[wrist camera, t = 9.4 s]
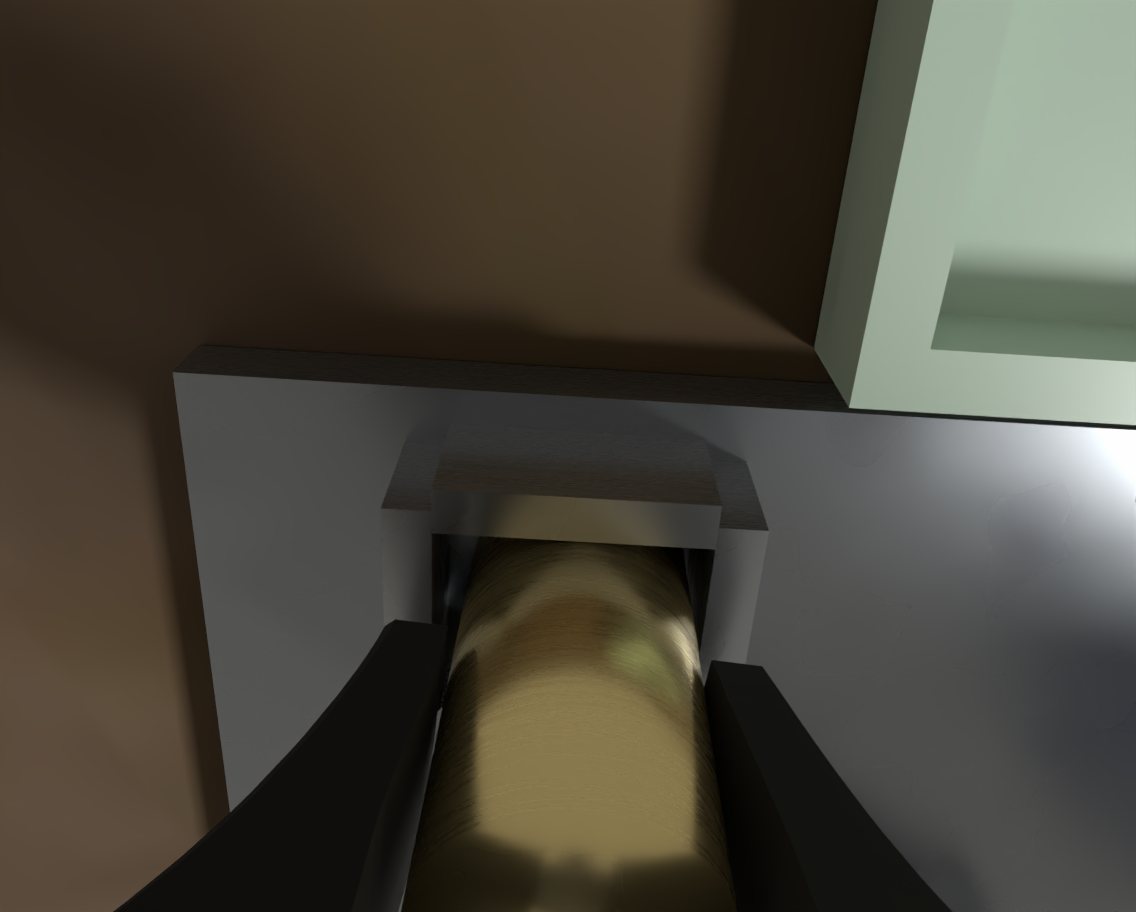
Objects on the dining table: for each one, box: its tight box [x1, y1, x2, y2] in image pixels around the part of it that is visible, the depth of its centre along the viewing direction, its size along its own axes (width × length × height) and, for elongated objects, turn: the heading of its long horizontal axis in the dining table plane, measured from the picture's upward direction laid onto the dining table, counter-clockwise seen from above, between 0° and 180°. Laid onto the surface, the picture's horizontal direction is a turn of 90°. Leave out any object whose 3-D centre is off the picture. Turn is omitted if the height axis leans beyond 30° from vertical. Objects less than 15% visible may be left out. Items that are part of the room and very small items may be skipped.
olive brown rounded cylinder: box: [401, 536, 737, 912], centre depth 11 cm, size 3×3×6 cm
